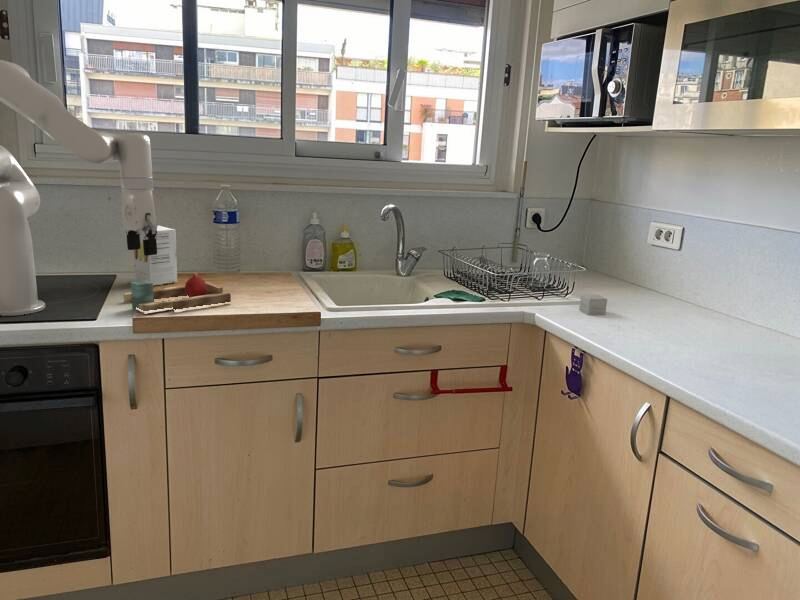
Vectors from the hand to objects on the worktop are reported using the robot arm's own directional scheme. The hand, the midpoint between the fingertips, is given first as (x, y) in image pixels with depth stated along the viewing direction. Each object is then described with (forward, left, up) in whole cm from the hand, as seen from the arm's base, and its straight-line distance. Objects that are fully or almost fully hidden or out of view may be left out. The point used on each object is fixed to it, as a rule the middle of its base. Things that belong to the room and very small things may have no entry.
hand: (142, 252), depth 167 cm
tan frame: (+9, -1, -15) cm, 17 cm away
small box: (+100, -74, -16) cm, 125 cm away
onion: (+15, 0, -15) cm, 21 cm away
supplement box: (+16, +27, -15) cm, 35 cm away
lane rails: (+13, -1, -15) cm, 20 cm away
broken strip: (+9, +9, -15) cm, 20 cm away
